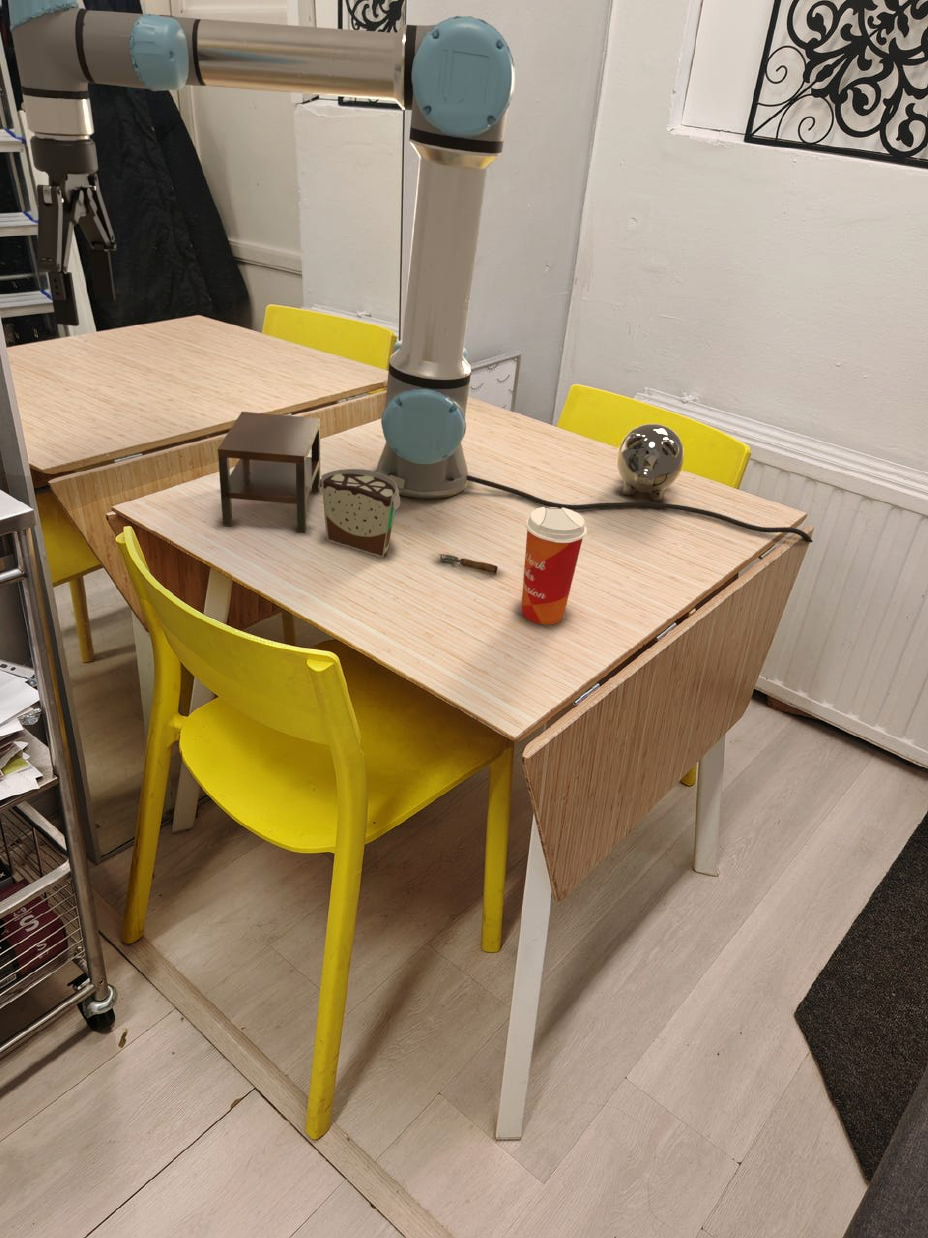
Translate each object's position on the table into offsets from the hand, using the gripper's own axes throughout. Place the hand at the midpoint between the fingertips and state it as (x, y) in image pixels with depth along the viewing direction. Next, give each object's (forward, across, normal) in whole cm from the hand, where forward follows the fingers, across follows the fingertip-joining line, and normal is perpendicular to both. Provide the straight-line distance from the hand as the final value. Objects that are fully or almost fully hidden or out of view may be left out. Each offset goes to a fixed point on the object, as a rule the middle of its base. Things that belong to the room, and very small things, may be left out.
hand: (87, 311), depth 123 cm
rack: (+27, 0, +24) cm, 37 cm away
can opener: (+28, +14, +55) cm, 63 cm away
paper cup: (+28, +25, +65) cm, 75 cm away
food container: (+28, +9, +40) cm, 49 cm away
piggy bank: (+28, -18, +84) cm, 91 cm away
